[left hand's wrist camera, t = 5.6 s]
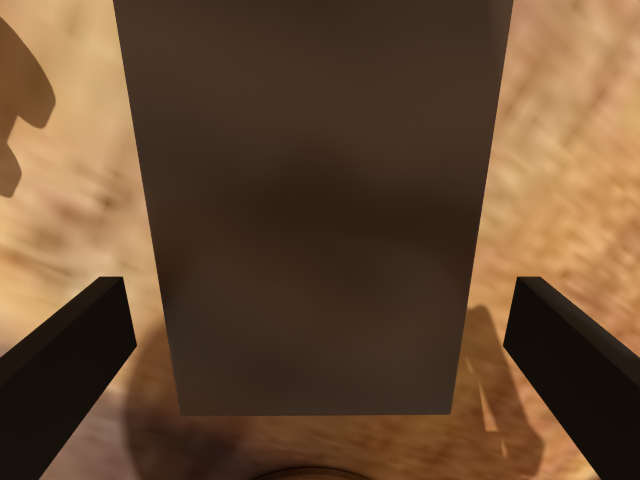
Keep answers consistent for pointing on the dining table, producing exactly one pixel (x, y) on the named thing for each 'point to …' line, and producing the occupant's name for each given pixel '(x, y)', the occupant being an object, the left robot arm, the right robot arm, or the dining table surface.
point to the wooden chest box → (314, 194)
